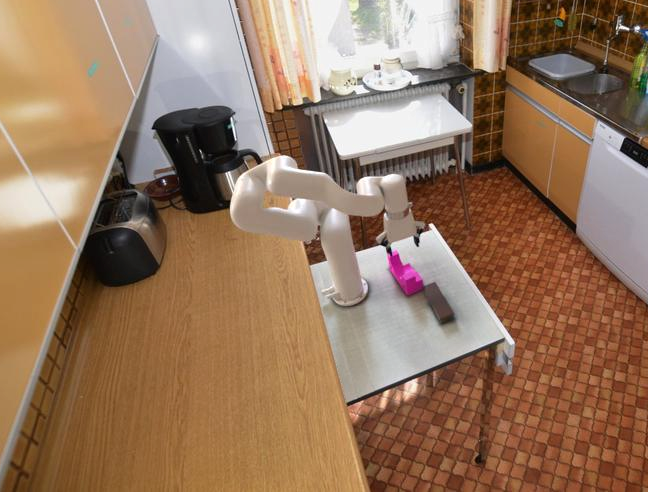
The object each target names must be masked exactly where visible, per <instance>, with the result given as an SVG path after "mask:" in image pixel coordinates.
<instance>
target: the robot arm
mask: <svg viewBox="0 0 648 492" xmlns="http://www.w3.org/2000/svg"><path fill="white" fill-rule="evenodd" d="M355 188H356V193H354V192H351V191H348V190H346V189H344V188H342V187H341V186H340V185H339V184H337V182H336V181H335V180H334V179H333V178H332V177H331V176H330V175H329V174H328V173H325V172H320V171H313V170H305V169H299V168H298V163H297V161H296V159H294V158H293V157H291V156H288V155H279V156H275V157H272V158H269V159H268V160H266V161H264V162H261V163H260V164H258V165H256V166H254V167H252V168H251V169H248V170H246V171H245V172H243V173H242V174H240V175H239V177H237V180H236V182H235V185H234V188H233V192H232V196H231V200H230V203H229V213H230V218H231V221H232V223H233V224H234V226H235V227H237V228H238V229H239V230H241V231H243V232H247V233H250V234H259V235H267V236H271V237H272V236H273V237H276V238H282V239H287V240H292V241H297V242H301V243H303V242H304V243H308V242H311V241H313V240H314V239H315V238H316V236H317V234H318V230H319V234H320V245H321V248H322V251H323V253H324V255H325V258H326V262H327V265H328V268H329V269H328V270H329V272H330V276H331V279H332V285H331V286H330V287H329V288H324V289H322V290H321V294H322V297H324V296H326V299H327V300H330V299H331V298H332V299H333V302H334V303H336V304H337V305H339V306H342V307H349V306H354V305H357V304H359V303H360V302H361V301H363V300H364V299H365V298H366V297H367V295H368V292H369V285H368V282H367V281H366V280H365V279H364V278H363V277H362V275H361V270H360V267H359V262H358V257H357V253H356V249H355V245H354V241H353V235H352V229H351V223H350V222H351V221H350V216H356V217H367V218H368V217H374V216H375V217H376V216H377V215H379V214H381V213H382V211H383V210H385V212H384V214H383V232H381V233H380V234H379V235H378V236H376V237H375V241H376V242H377V244H379V245H380V246H381V247H384V248H385V252H386V255H387V254H390V256H391V257H392V256H393V255H392V252H393V250H392V247H391V246H392V244H393V243H396V242H400V241H403V240H405V239H408V238H411V237H413V243H414V245H415V246H416V248H419V247H420V243H421V241H420V238H421V234H423V232H424V229H425V227H426V223H425V221H420V220H419V221H418V220H415V218H414V215H413V212H412V210H411V208H412V207H413V206H414V205H413V202H412V201H411V202H409V199H408V192H407V186H406V180H405V178H404V177H403V176H402V175H400V174H397V173H391V174H388V175H385V176H365V177H362V178H360V179H358V181H357V183H356V187H355ZM267 190H268V191H269V193H270V194H271V195H274V196H276V197H281V198H289V199H290V198H291V199H294V200H292V201H291V202H290V203H289V204H288V206H287V209H285V208H281V207H276V206H275V207H266V208H264V207H263V205H264V198H265V192H266V191H267ZM384 238H385V239H384ZM383 239H384V240H383Z"/></svg>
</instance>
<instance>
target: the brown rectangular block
mask: <svg viewBox="0 0 648 492" xmlns="http://www.w3.org/2000/svg"><path fill="white" fill-rule="evenodd" d="M421 290H423V293H424V295H425V296H426V298H427V300H428V302H429V304H430V306H431V308H432V309H433V312H434V313H435V315H436V317H437V320H438V321H439V323H440V324H445V323H448V322H449V321H452V320H454V316H455V312H454V311H453V309H452V307H451V306H450V303H448V301H447V299H446V297H445V295H444V294H443V291H441V289H440V287H439V285H438V283H437V282H436V281H433V282H431V283H428V284H425V285H423V287H422V289H421Z"/></svg>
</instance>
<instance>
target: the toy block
mask: <svg viewBox="0 0 648 492" xmlns="http://www.w3.org/2000/svg"><path fill="white" fill-rule="evenodd" d="M392 255H393V256H392V257H391V256H390V254H387V253H386V256H387V261H388V266H389V270H390V272H391V273H392V274H393V276H394V278H396V280H397V282H398V283H399V285H400V287H401V288H402V290H403V291H404V292H405V294H406V295H407V296H411V295H412V294H414V293H416V292H419V291H421V290H423V289H422V287H423V286H424V279H423V278H422V276H421V275H420V274H419V272H418V271H416V270H415V269H414V268H413V266H412V265H411V263H410V262H408V263H406V264H403V263H402V259H401V256H400V253H399V252H398V250H397V249H396V250H394V251H393V250H392Z"/></svg>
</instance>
